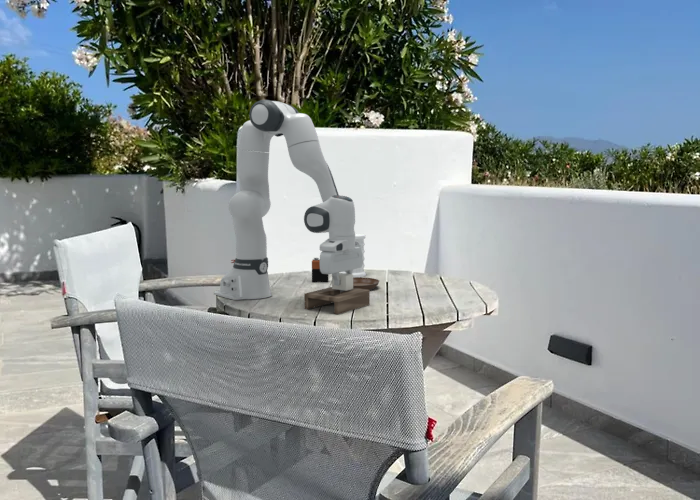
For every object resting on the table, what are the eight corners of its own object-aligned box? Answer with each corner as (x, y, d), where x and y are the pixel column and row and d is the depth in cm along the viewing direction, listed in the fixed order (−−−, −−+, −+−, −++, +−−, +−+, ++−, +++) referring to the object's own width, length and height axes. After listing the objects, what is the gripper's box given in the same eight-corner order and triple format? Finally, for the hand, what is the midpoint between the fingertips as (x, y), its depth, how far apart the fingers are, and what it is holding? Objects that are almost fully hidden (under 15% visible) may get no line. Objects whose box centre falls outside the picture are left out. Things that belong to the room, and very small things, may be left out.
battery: (312, 280, 260) (312, 257, 259) (328, 280, 260) (328, 257, 259) (311, 282, 256) (311, 258, 254) (328, 282, 256) (328, 258, 254)
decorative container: (371, 276, 272) (371, 235, 269) (348, 278, 266) (348, 236, 264) (357, 272, 281) (357, 233, 279) (335, 274, 276) (335, 234, 274)
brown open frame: (304, 308, 205) (304, 293, 204) (336, 300, 219) (336, 285, 219) (338, 314, 197) (338, 298, 196) (369, 304, 211) (369, 289, 211)
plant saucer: (341, 293, 232) (341, 285, 232) (329, 285, 249) (329, 278, 249) (385, 291, 237) (385, 283, 237) (371, 283, 254) (371, 276, 254)
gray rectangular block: (331, 298, 210) (331, 274, 209) (339, 296, 213) (339, 272, 212) (345, 301, 206) (345, 276, 205) (353, 298, 210) (353, 274, 209)
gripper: (352, 240, 218) (352, 279, 220) (316, 245, 201) (316, 287, 203) (367, 241, 214) (367, 280, 216) (331, 247, 198) (331, 289, 199)
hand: (342, 284), depth 209 cm, fingers closed on gray rectangular block, 4 cm apart
